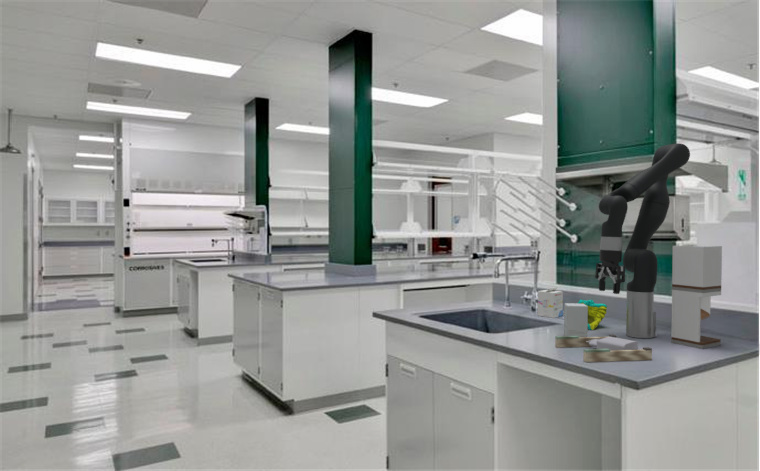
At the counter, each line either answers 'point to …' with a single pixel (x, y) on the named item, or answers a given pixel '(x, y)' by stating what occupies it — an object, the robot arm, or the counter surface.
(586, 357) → the railed run
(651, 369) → the counter surface
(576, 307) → the supplement box
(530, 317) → the counter surface
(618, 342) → the charger
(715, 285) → the coffee maker
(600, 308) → the organ model
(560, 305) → the ink box
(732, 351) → the counter surface
